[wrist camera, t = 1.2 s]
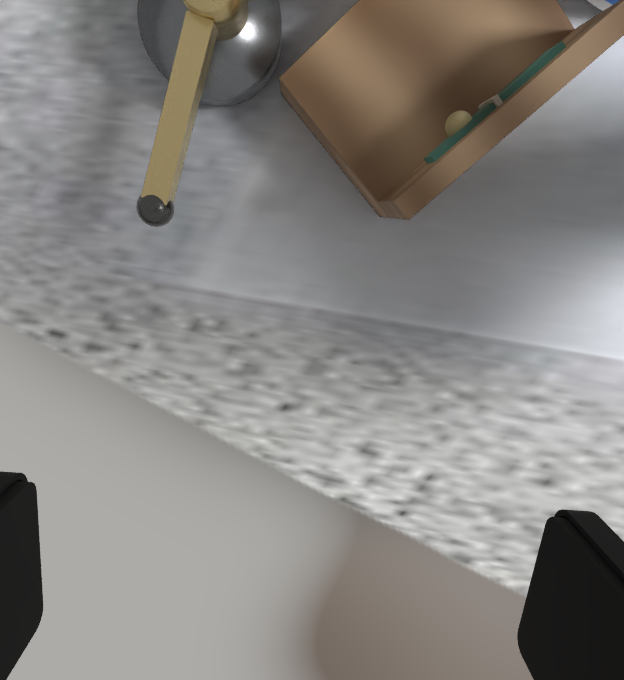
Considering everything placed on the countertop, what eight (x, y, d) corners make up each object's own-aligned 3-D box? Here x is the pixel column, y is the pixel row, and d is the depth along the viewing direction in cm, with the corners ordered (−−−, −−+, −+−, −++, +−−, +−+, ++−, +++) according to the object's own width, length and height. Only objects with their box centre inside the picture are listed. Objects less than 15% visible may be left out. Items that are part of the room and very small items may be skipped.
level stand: (457, -76, 29) (527, -199, 20) (549, 67, 31) (649, 13, 22) (281, 93, 31) (275, 49, 22) (379, 216, 33) (408, 219, 24)
